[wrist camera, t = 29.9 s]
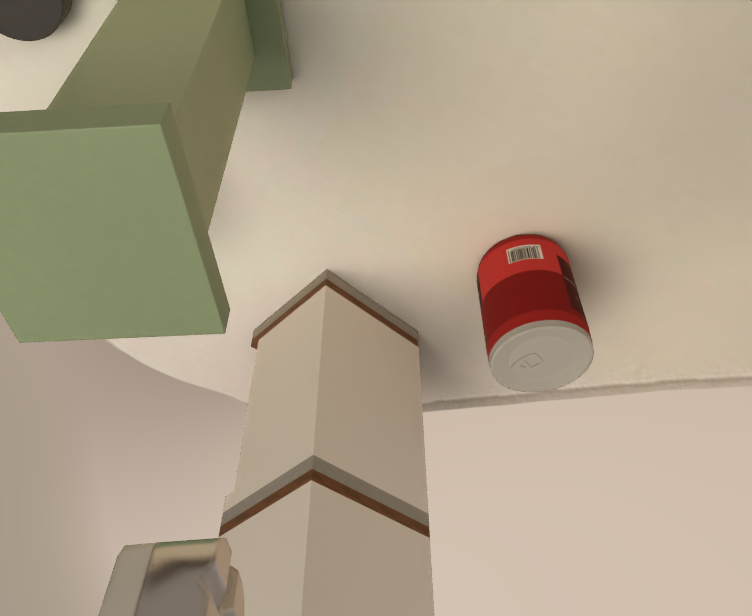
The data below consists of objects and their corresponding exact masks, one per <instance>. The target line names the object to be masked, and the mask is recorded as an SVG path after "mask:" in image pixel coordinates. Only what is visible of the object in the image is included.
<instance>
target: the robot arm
mask: <svg viewBox="0 0 752 616" xmlns="http://www.w3.org/2000/svg"><path fill="white" fill-rule="evenodd" d="M231 554H232V551H231V548H230V546H229V543H228V541H227V538H214V539H201V540H186V541H173V542H159V543H148V544H137V545H126V546H124V548H123V549H122V550H121V552H120V553H119V555H118V556H117V559H116V562H115V565H114V568H113V572H112V575H111V578H110V581H109V584H108V587H107V591H106V593H105V597H104V600H103V603H102V606H101V609H100V612H99V615H98V616H244V591H243V585H242V580H241V577H240V574H239V571H238V570H237V569H236V568H234V567H232V566H231V565H230V561H231Z"/></svg>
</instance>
